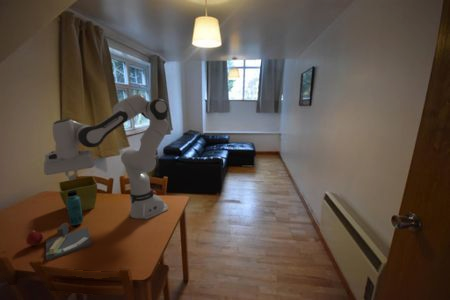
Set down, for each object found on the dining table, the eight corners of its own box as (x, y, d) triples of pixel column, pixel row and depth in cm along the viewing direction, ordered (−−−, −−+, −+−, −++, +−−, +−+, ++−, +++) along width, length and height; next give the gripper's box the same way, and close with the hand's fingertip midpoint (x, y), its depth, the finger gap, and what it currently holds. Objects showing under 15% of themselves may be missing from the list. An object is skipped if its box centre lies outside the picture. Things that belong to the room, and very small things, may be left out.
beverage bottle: (67, 226, 117) (61, 192, 112) (78, 220, 123) (73, 188, 118) (75, 229, 115) (69, 194, 110) (86, 222, 121) (81, 189, 116)
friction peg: (69, 234, 108) (67, 222, 106) (55, 253, 94) (53, 241, 93) (64, 234, 107) (62, 223, 106) (49, 254, 93) (47, 242, 92)
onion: (25, 247, 100) (21, 232, 98) (39, 240, 105) (36, 225, 103) (32, 250, 98) (29, 235, 96) (46, 243, 103) (43, 228, 101)
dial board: (87, 229, 114) (87, 227, 114) (92, 245, 102) (91, 242, 102) (46, 242, 104) (46, 239, 104) (46, 260, 92) (45, 258, 92)
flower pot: (63, 218, 125) (59, 191, 121) (62, 206, 139) (58, 182, 136) (100, 208, 137) (97, 184, 133) (95, 198, 151) (92, 175, 147)
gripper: (91, 148, 113) (95, 173, 116) (41, 154, 100) (46, 182, 104) (93, 150, 108) (97, 176, 111) (40, 157, 96) (46, 186, 99)
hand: (72, 179), depth 107 cm, fingers closed
